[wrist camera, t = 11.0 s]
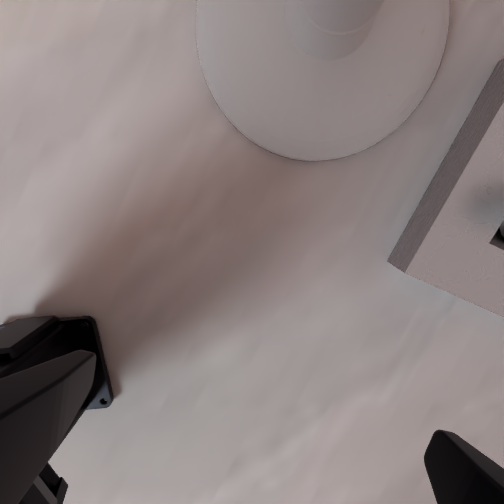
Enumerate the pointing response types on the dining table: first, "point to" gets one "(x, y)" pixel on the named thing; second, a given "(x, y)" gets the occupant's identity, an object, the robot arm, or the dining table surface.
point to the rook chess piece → (502, 228)
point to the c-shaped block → (464, 211)
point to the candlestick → (319, 69)
